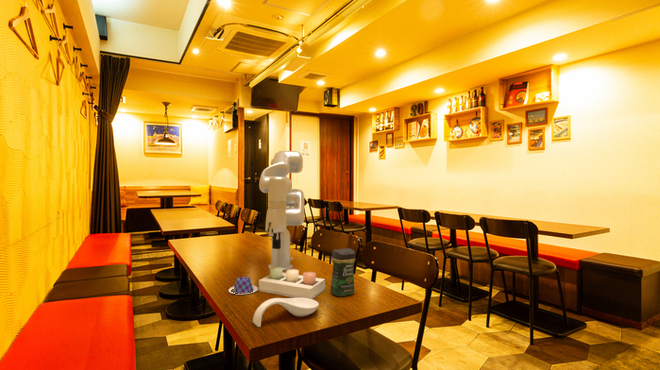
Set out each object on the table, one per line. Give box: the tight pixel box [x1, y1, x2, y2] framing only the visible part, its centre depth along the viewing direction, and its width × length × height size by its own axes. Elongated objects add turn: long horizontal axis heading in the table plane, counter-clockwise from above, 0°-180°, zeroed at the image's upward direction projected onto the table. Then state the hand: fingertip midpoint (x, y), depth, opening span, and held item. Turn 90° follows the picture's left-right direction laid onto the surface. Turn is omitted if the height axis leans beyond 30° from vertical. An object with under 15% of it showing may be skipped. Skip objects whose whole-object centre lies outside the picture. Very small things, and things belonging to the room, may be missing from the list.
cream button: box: [285, 268, 300, 283], centre depth 142 cm, size 5×5×5 cm
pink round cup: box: [302, 271, 317, 286], centre depth 139 cm, size 5×5×5 cm
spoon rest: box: [252, 297, 320, 328], centre depth 116 cm, size 24×12×7 cm, turn 128°
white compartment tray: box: [258, 272, 326, 300], centre depth 142 cm, size 14×24×4 cm, turn 67°
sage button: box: [269, 267, 283, 280], centre depth 145 cm, size 5×5×5 cm
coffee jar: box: [330, 247, 356, 297], centre depth 139 cm, size 10×8×19 cm
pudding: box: [228, 276, 259, 295], centre depth 141 cm, size 12×12×5 cm
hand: (276, 248), depth 144 cm, fingers closed
